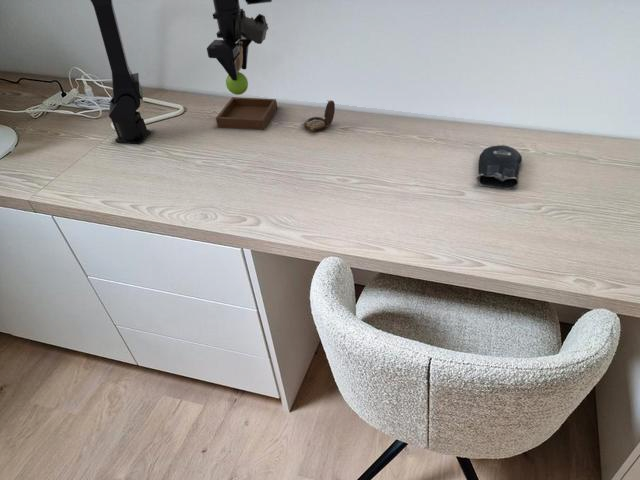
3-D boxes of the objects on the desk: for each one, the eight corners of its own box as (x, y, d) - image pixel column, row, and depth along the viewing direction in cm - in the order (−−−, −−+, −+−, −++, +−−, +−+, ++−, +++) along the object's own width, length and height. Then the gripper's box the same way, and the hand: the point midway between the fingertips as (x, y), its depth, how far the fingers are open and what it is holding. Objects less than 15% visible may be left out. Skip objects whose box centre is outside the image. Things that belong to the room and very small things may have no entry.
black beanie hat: (519, 196, 106) (522, 153, 115) (520, 176, 102) (523, 132, 111) (475, 195, 109) (481, 153, 118) (475, 175, 105) (481, 133, 114)
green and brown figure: (255, 90, 128) (249, 42, 119) (241, 100, 124) (234, 52, 115) (238, 85, 130) (231, 38, 121) (223, 95, 126) (215, 47, 117)
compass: (308, 119, 131) (306, 93, 126) (337, 123, 129) (335, 96, 124) (298, 133, 125) (294, 106, 120) (327, 137, 124) (325, 110, 119)
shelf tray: (217, 127, 129) (215, 117, 127) (233, 106, 138) (232, 97, 136) (264, 129, 127) (262, 120, 125) (277, 108, 136) (276, 99, 134)
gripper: (247, 20, 106) (259, 91, 116) (272, -4, 119) (280, 62, 130) (198, 19, 107) (214, 89, 118) (228, -5, 120) (240, 60, 131)
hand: (239, 74), depth 124 cm, fingers closed on green and brown figure, 7 cm apart
